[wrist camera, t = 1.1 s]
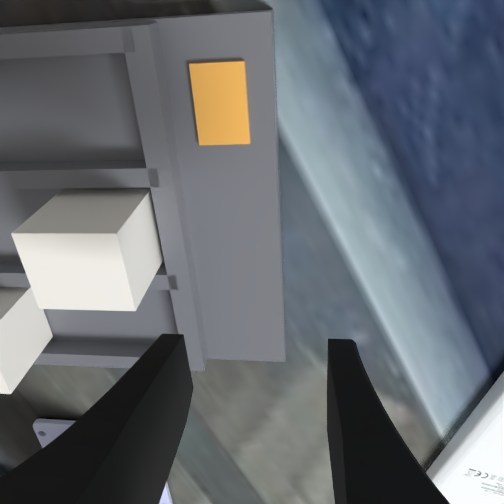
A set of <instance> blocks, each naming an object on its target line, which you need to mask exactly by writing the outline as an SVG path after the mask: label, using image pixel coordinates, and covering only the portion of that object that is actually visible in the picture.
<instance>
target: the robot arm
mask: <svg viewBox="0 0 504 504" xmlns="http://www.w3.org/2000/svg"><path fill="white" fill-rule="evenodd" d="M192 392H193V383H192V378H191V372H190V367H189V361H188V356H187V350H186V345H185V339H184V334H161V335H160V336H159V337H158V338H157V339H156V340H155V342H154V343H153V344H152V345H151V346H150V347H149V348H148V349H147V350H146V351H145V353H144V354H143V355H142V356H141V357H140V358H139V359H138V360H137V361H136V362H135V364H134V365H133V366H132V367H131V368H130V369H129V370H128V371H127V372H126V373H125V374H124V375H123V376H122V377H121V378H120V379H119V380H118V382H117V383H116V384H115V385H114V386H113V387H112V388H111V389H110V390H109V391H108V392H107V393H106V394H105V395H104V396H103V397H102V398H101V399H99V400H98V401H97V402H96V403H95V404H94V405H93V406H92V407H91V408H90V409H89V410H88V411H87V412H86V413H85V414H84V415H83V416H81V417H80V418H79V419H78V420H77V421H72V420H55V419H37V420H35V422H34V424H33V429H34V431H35V433H36V435H37V438H38V440H39V442H40V444H41V446H42V449H41V450H40V451H38V452H37V453H35V454H34V455H33V456H31V457H30V458H28V459H27V460H26V461H24V462H23V463H21V464H20V465H19V466H17V467H16V468H15V469H13V470H12V471H10V472H9V473H7V474H6V475H4V476H3V477H1V478H0V504H173V503H172V499H171V495H170V492H169V488H168V484H167V479H168V476H169V473H170V470H171V467H172V464H173V461H174V458H175V455H176V452H177V449H178V446H179V443H180V440H181V437H182V434H183V431H184V428H185V425H186V421H187V416H188V412H189V407H190V402H191V397H192ZM327 432H328V442H329V451H330V461H331V470H332V479H333V489H334V498H335V504H450V503H449V501H448V500H447V499H446V498H445V497H444V496H443V494H442V493H441V492H440V491H439V489H438V488H437V487H436V486H435V484H434V483H433V482H432V480H431V479H430V478H429V476H428V475H427V474H426V472H425V471H424V470H423V468H422V467H421V465H420V464H419V463H418V461H417V460H416V458H415V457H414V456H413V454H412V453H411V451H410V450H409V448H408V447H407V445H406V444H405V442H404V441H403V439H402V437H401V436H400V434H399V433H398V431H397V429H396V428H395V426H394V424H393V423H392V421H391V419H390V418H389V416H388V414H387V412H386V411H385V409H384V407H383V405H382V403H381V401H380V399H379V398H378V396H377V394H376V392H375V390H374V388H373V386H372V384H371V382H370V380H369V377H368V375H367V373H366V371H365V368H364V366H363V363H362V361H361V358H360V355H359V352H358V349H357V346H356V343H355V342H354V341H353V340H352V339H328V371H327Z"/></svg>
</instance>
